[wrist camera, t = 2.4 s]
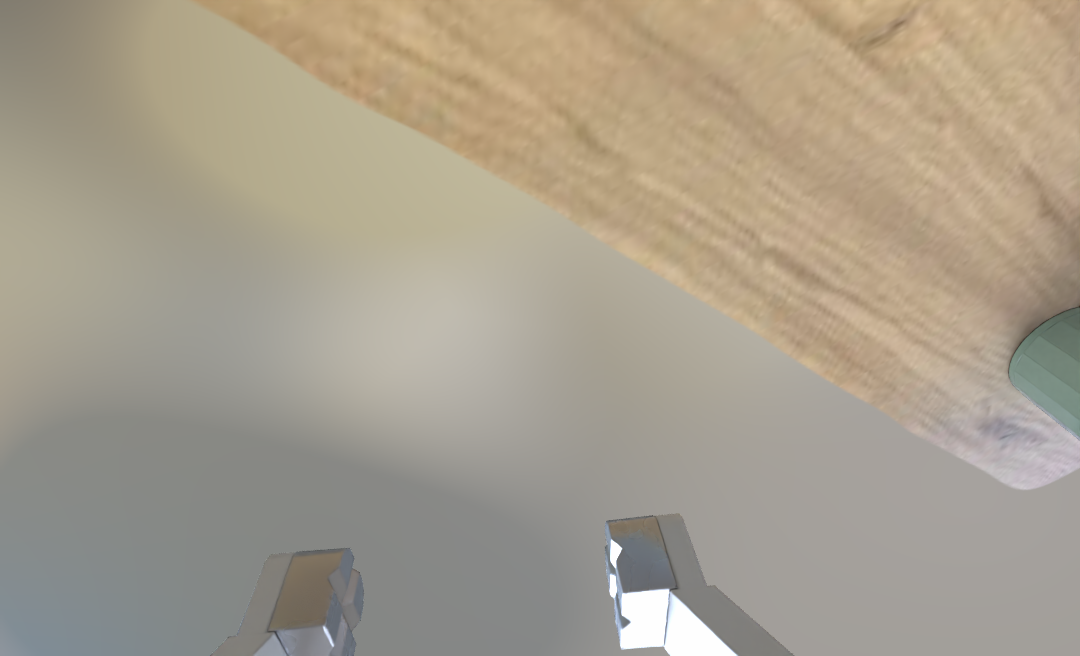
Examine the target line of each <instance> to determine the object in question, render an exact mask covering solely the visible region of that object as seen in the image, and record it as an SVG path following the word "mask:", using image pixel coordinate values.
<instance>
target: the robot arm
mask: <svg viewBox="0 0 1080 656" xmlns="http://www.w3.org/2000/svg"><path fill="white" fill-rule="evenodd" d="M605 535H606V540H607V545H606V547H605V560H606V572H607V578H608V584H609V590H610V595H611V596H612V597H613V598H614V599H615V620H616V626H617V630H618V635H619V640H620V645H621V649H629V648H643V647H655V646H665V649H666V651H667V652H668V653H669V654H670V655H671V656H794V655H793V654H792V653H790V651H788V650H787V649H786V648H785V647H784V646H783V645H782V644H780V643H779V642H778V641H777V640H776V639H775V638H774V637H772V636H771V635H770V634H769V633H768V632H767V631H766V630H765V629H763V628H762V627H761V626H760V625H759V624H758V623H756V622H755V621H754V620H753V619H752V618H751V617H750V616H749V615H747V614H746V613H745V612H744V611H743V610H742V609H741V608H740V607H738V606H737V605H736V604H735V603H734V602H733V601H732V600H730V599H729V598H728V597H727V596H726V595H725V594H724V593H722V592H721V591H720V590H719V589H718V588H717V587H716V586H707V585H706V582H705V579H704V576H703V573H702V571H701V568H700V565H699V562H698V559H697V557H696V554H695V551H694V548H693V545H692V543H691V540H690V537H689V535H688V532H687V529H686V526H685V523H684V520H683V518H682V516H681V515H680V514H668V515H659V516H653V515H652V516H644V517H635V518H626V519H619V520H609V521H606V523H605ZM353 562H354V556H353V554H352V552H351V549H350V548H341V549H328V550H315V551H302V552H290V553H279V554H271V555H270V556H269V557H268V559H267V560H266V561H265V563H264V565H263V568H262V570H261V573H260V576H259V578H258V581H257V584H256V586H255V589H254V591H253V594H252V597H251V599H250V602H249V604H248V607H247V610H246V612H245V615H244V618H243V620H242V623H241V626H240V628H239V631H238V633H237V636H230V637H228V638H227V639H226V640H225V641H224V642H223V643H222V644H221V645H220V646H219V647H218V648H217V649H216V650H215V651H214V652H213V653H212V654H211V655H210V656H354V652H355V647H356V642H355V640H354V637H353V634H352V630H353V629H354V628H355V627H356V626H357V625H358V623H359V622H360V621H361V616H362V611H363V599H364V589H363V582H362V578H361V575H360V572H358V571H357V570H355V569H353V568H352V567H353Z"/></svg>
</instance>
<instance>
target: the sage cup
mask: <svg viewBox="0 0 1080 656" xmlns="http://www.w3.org/2000/svg"><path fill="white" fill-rule="evenodd" d="M1009 378H1010V381H1011V383H1012V385H1013V386H1014V387H1015V388H1016V389H1017V390H1018V391H1020V392H1021V393H1022V395H1023V396H1024V397H1026V398H1027V399H1028V400H1029V401H1031V402H1032V403H1033V404H1034V405H1036V406H1037V407H1038V408H1040V409H1041V410H1042V411H1043V412H1045V413H1046V414H1047V415H1048V416H1050V417H1051V418H1052V419H1053V420H1055V421H1056V422H1057V423H1058V424H1060V425H1061V426H1062V427H1063V428H1065V429H1066V430H1067V431H1068V432H1070V433H1071V434H1072V435H1073V436H1075V437H1076V438H1077V439H1078V440H1080V307H1078V308H1074V309H1071V310H1068V311H1066V312H1063V313H1061V314H1059V315H1057V316H1055V317H1053V318H1051V319H1050V320H1048V321H1046V322H1045V323H1043V324H1042V325H1041V326H1039V327H1038V328H1037V329H1035V330H1034V331H1033V332H1032V333H1031V334H1030V335H1029V336H1028V337H1027V338H1026V339H1025V340H1024V341H1023V342H1022V343H1021V345H1020V346H1019V347H1018V349H1017V350H1016V352H1015V354H1014V356H1013V357H1012V360H1011V363H1010V367H1009Z"/></svg>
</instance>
